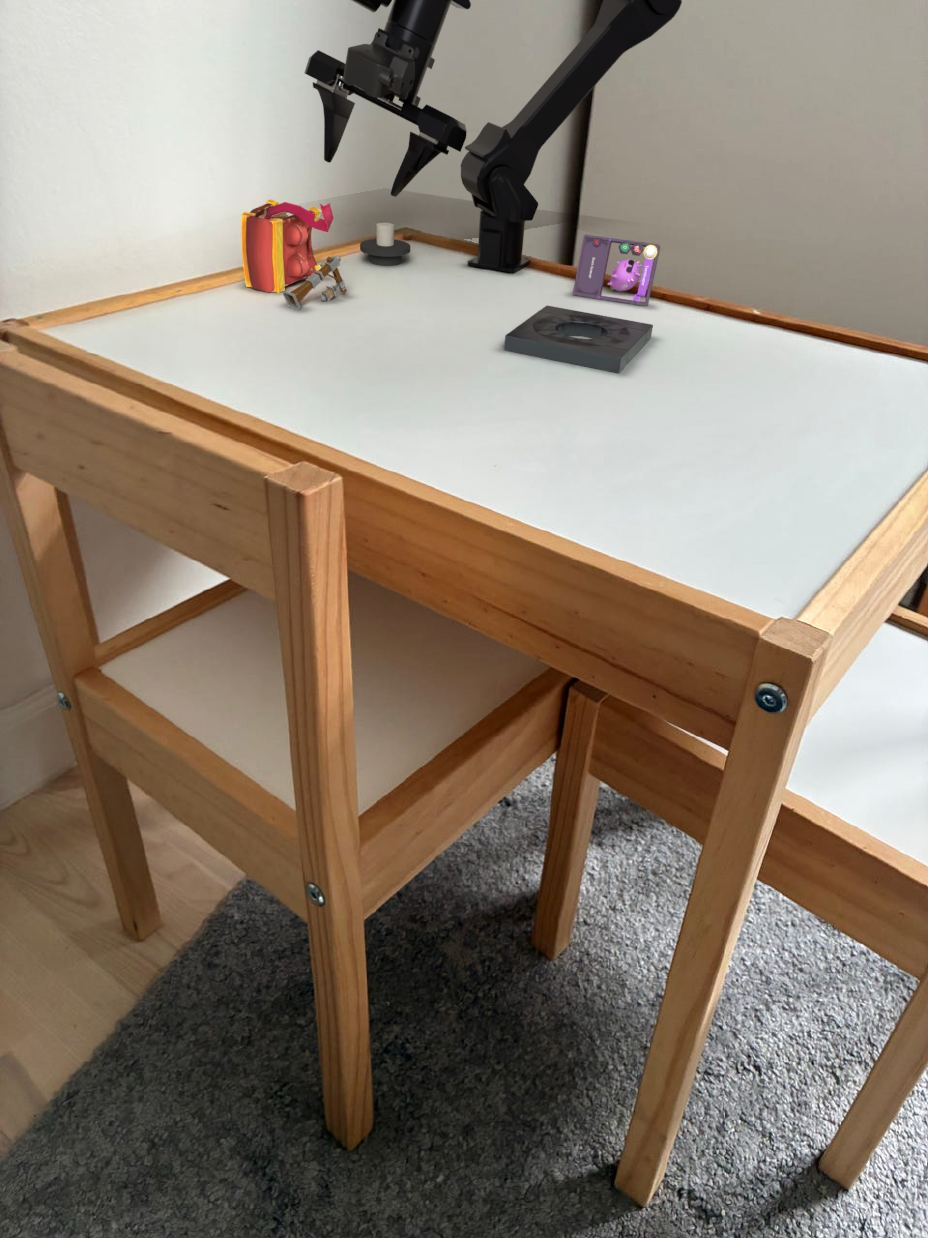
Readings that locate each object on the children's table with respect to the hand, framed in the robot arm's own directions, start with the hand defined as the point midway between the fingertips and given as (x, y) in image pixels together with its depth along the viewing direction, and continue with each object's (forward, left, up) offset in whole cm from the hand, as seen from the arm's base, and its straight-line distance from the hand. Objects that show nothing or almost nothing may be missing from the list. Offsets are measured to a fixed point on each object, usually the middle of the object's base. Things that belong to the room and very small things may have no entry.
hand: (359, 178), depth 105 cm
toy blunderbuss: (+14, +2, -11) cm, 18 cm away
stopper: (-6, 0, -10) cm, 12 cm away
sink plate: (+11, +32, -10) cm, 36 cm away
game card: (-8, +30, -11) cm, 33 cm away
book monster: (+10, -3, -11) cm, 15 cm away
